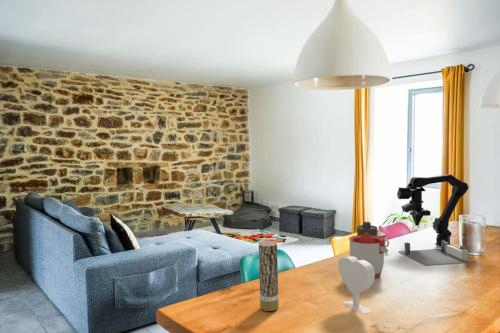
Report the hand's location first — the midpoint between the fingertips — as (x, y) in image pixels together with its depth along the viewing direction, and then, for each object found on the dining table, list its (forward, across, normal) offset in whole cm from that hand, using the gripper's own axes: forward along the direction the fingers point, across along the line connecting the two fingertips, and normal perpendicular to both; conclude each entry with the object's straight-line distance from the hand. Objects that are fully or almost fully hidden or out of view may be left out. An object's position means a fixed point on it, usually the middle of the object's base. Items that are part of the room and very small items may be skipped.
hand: (416, 225), depth 233 cm
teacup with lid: (+12, +4, -25) cm, 28 cm away
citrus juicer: (+12, +43, -50) cm, 67 cm away
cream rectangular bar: (+11, +26, +6) cm, 29 cm away
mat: (+12, +23, -4) cm, 26 cm away
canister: (+12, +20, -40) cm, 46 cm away
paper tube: (+12, +70, -102) cm, 124 cm away
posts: (+12, +22, -3) cm, 25 cm away
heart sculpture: (+12, +75, -70) cm, 103 cm away
